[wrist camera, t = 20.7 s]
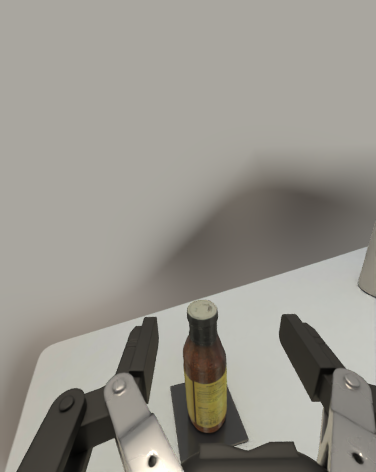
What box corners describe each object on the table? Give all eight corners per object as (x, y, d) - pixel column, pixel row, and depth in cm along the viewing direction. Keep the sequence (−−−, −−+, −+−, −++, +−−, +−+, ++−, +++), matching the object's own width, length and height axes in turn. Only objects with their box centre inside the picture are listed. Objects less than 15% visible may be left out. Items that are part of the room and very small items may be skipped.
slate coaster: (180, 464, 26) (180, 462, 26) (170, 388, 36) (170, 386, 35) (248, 441, 28) (248, 438, 28) (221, 374, 38) (222, 372, 37)
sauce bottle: (232, 407, 32) (239, 306, 26) (213, 448, 27) (215, 337, 21) (200, 382, 36) (198, 289, 30) (177, 414, 31) (170, 312, 25)
